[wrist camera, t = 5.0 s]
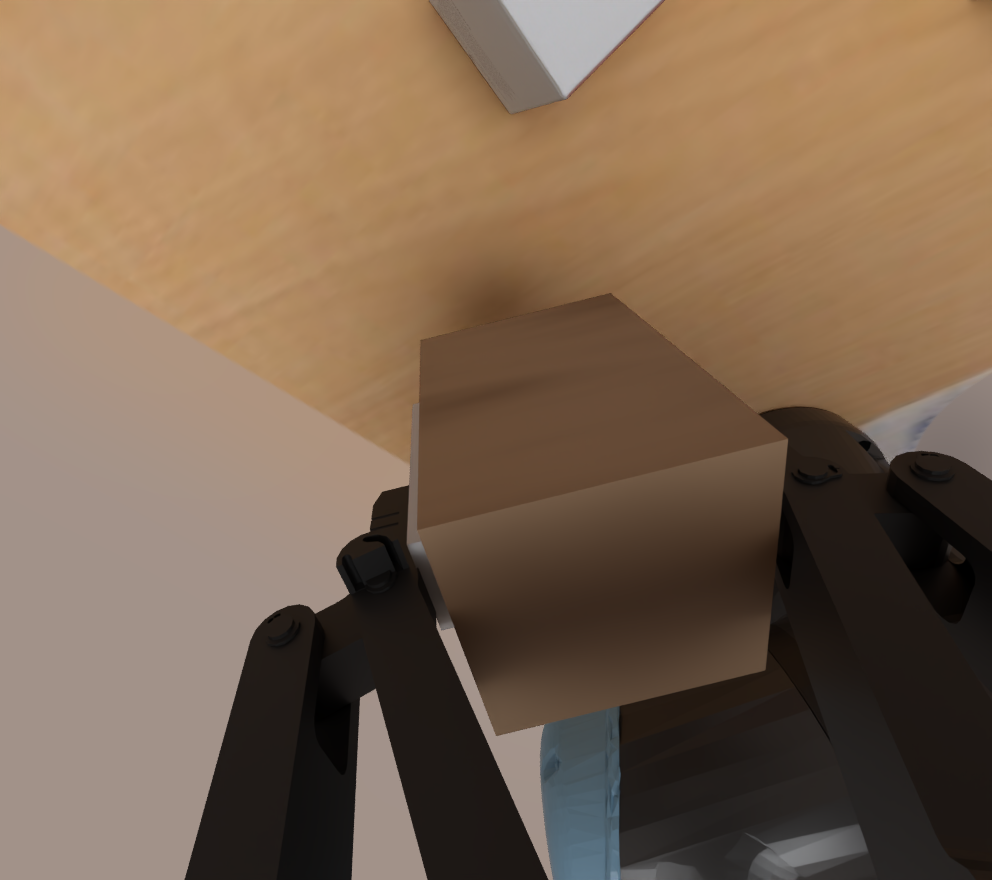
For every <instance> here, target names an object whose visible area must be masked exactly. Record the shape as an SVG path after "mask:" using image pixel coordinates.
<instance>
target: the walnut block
mask: <svg viewBox="0 0 992 880" xmlns="http://www.w3.org/2000/svg"><path fill="white" fill-rule="evenodd" d="M787 446H788V438H787V437H785V436H784V435H783V434H782V433H780V432H779V431H778V430H777V429H776V428H774V427H773V426H772V425H771V424H769V423H768V422H767V421H766V420H765V419H763V418H762V417H761V416H760V415H758V414H757V413H756V412H755V411H754V410H752V409H751V408H750V407H749V406H747V405H746V404H745V403H744V402H743V401H741V400H740V399H739V398H738V397H737V396H735V395H734V394H733V393H732V392H730V391H729V390H728V389H727V388H726V387H724V386H723V385H722V384H721V383H719V382H718V381H717V380H716V379H715V378H713V377H712V376H711V375H710V374H708V373H707V372H706V371H705V370H704V369H702V368H701V367H700V366H699V365H697V364H696V363H695V362H694V361H693V360H691V359H690V358H689V357H688V356H686V355H685V354H684V353H683V352H682V351H680V350H679V349H678V348H677V347H675V346H674V345H673V344H672V343H671V342H669V341H668V340H667V339H666V338H665V337H663V336H662V335H661V334H660V333H658V332H657V331H656V330H655V329H654V328H652V327H651V326H650V325H649V324H647V323H646V322H645V321H644V320H643V319H641V318H640V317H639V316H638V315H636V314H635V313H634V312H633V311H632V310H630V309H629V308H628V307H627V306H625V305H624V304H623V303H622V302H621V301H619V300H618V299H617V298H616V297H614V296H613V295H612V294H611V293H609V294H605V295H601V296H597V297H593V298H589V299H585V300H581V301H577V302H573V303H569V304H565V305H561V306H557V307H553V308H549V309H545V310H541V311H537V312H533V313H529V314H525V315H521V316H517V317H513V318H508V319H504V320H500V321H496V322H492V323H488V324H484V325H480V326H476V327H472V328H468V329H464V330H460V331H456V332H452V333H448V334H444V335H440V336H436V337H432V338H428V339H424V340H421V347H420V399H419V451H418V503H417V532H418V534H419V537H420V539H421V542H422V545H423V547H424V550H425V552H426V555H427V558H428V560H429V563H430V565H431V568H432V571H433V573H434V576H435V578H436V581H437V584H438V586H439V589H440V591H441V594H442V597H443V599H444V602H445V604H446V607H447V610H448V612H449V615H450V617H451V620H452V623H453V625H454V628H455V630H456V633H457V636H458V638H459V641H460V643H461V646H462V648H463V651H464V654H465V656H466V659H467V661H468V664H469V667H470V669H471V672H472V674H473V677H474V680H475V682H476V685H477V687H478V690H479V692H480V695H481V698H482V700H483V703H484V706H485V708H486V711H487V713H488V716H489V719H490V721H491V724H492V726H493V729H494V732H495V734H496V736H499V735H502V734H507V733H511V732H515V731H519V730H523V729H527V728H531V727H535V726H540V725H544V724H548V723H552V722H556V721H560V720H564V719H568V718H572V717H576V716H580V715H585V714H589V713H593V712H597V711H601V710H605V709H609V708H613V707H617V706H621V705H626V704H630V703H634V702H638V701H642V700H646V699H650V698H654V697H658V696H662V695H666V694H671V693H675V692H679V691H683V690H687V689H691V688H695V687H699V686H703V685H707V684H712V683H716V682H720V681H724V680H728V679H732V678H736V677H740V676H744V675H748V674H752V673H757V672H761V671H765V670H766V660H767V650H768V639H769V629H770V619H771V609H772V599H773V589H774V578H775V568H776V558H777V548H778V538H779V528H780V517H781V507H782V497H783V487H784V477H785V466H786V456H787Z"/></svg>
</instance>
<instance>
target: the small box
mask: <svg viewBox="0 0 992 880" xmlns="http://www.w3.org/2000/svg"><path fill="white" fill-rule="evenodd" d="M429 1H430V3H431V4H432V5H433V7H434V8H435V9H436V11H437V12H438V13H439V15H440V16H441V18H442V19H443V20H444V22H445V23H446V25H447V26H448V28H449V29H450V30H451V32H452V33H453V35H454V36H455V37H456V39H457V40H458V42H459V43H460V44H461V46H462V47H463V49H464V50H465V51H466V53H467V54H468V56H469V57H470V58H471V60H472V61H473V63H474V64H475V65H476V67H477V68H478V70H479V71H480V72H481V74H482V75H483V77H484V78H485V80H486V81H487V82H488V84H489V85H490V87H491V88H492V89H493V91H494V92H495V94H496V95H497V96H498V98H499V99H500V100H501V102H502V103H503V105H504V106H505V107H506V109H507V110H508V112H509V113H510V114H514V113H518V112H521V111H525V110H529V109H532V108H536V107H540V106H543V105H547V104H550V103H553V102H557V101H561V100H566V99H568V98H569V97H570V96H571V94H572V93H573V92H574V91H575V90H576V89H577V88H578V87H579V86H580V85H581V84H582V83H583V82H584V81H585V80H586V79H587V78H588V77H589V76H590V75H591V74H592V73H593V72H594V71H595V70H596V69H597V68H598V67H599V66H600V65H601V64H602V63H603V62H604V61H605V60H606V59H607V58H608V57H609V56H610V55H611V54H612V53H613V52H614V51H615V50H616V49H617V48H618V47H619V46H620V45H621V44H622V43H623V42H624V41H625V40H626V39H627V38H628V37H629V36H630V35H631V34H632V33H633V32H634V31H635V30H636V29H637V28H638V27H639V26H640V25H641V24H642V23H643V22H644V21H645V20H646V19H647V18H648V17H649V16H650V15H651V14H652V13H653V12H654V11H655V10H656V9H657V8H658V7H659V6H660V5H661V4H662V3H663V2H664V1H665V0H429Z"/></svg>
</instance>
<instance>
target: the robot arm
mask: <svg viewBox="0 0 992 880" xmlns="http://www.w3.org/2000/svg"><path fill="white" fill-rule="evenodd" d="M760 416H761V417H762V418H763V419H765V420H766V421H767V422H768V423H769V424H771V425H772V426H773V427H774V428H776V429H777V430H778V431H779V432H780V433H782V434H783V435H784V436H785V437H787V438H788V446H787V456H786V466H785V477H784V487H783V497H782V507H781V517H780V528H779V538H778V548H777V558H776V568H775V578H774V589H773V599H772V609H771V619H770V629H769V639H768V650H767V660H766V670H765V671H761V672H757V673H752V674H748V675H744V676H740V677H736V678H732V679H728V680H724V681H720V682H716V683H712V684H707V685H703V686H699V687H695V688H691V689H687V690H683V691H679V692H675V693H671V694H666V695H662V696H658V697H654V698H650V699H646V700H642V701H638V702H634V703H630V704H626V705H621V706H617V707H613V708H609V709H605V710H601V711H597V712H593V713H589V714H585V715H580V716H576V717H572V718H568V719H564V720H560V721H556V722H552V723H548V724H545V725H544V729H543V733H542V739H541V751H540V775H541V791H542V802H543V813H544V822H545V830H546V838H547V845H548V852H549V858H550V864H551V869H552V875H553V880H992V480H990V479H989V478H987V477H986V476H984V475H983V474H981V473H979V472H978V471H976V470H975V469H973V468H972V467H970V466H969V465H967V464H966V463H964V462H962V461H960V460H958V459H956V458H954V457H951V456H948V455H944V454H940V453H935V452H926V451H916V452H906V453H904V454H901V455H898V456H896V457H895V458H894V459H893V460H892V461H891V463H890V465H889V464H888V462H887V461H886V460H885V458H884V456H883V454H882V452H881V451H880V450H879V448H878V446H877V445H876V444H875V443H874V442H873V441H872V440H871V439H870V438H869V437H868V436H867V435H866V434H865V433H863V432H862V431H861V430H859V429H858V428H856V427H855V426H853V425H852V424H850V423H849V422H847V421H846V420H844V419H843V418H841V417H840V416H838V415H836V414H834V413H831V412H828V411H825V410H821V409H815V408H805V407H803V408H787V409H780V410H776V411H771V412H768V413H764V414H761V415H760ZM418 451H419V403H416V404H413V410H412V433H411V457H410V481H409V485H408V486H405V487H400V488H396V489H392V490H388V491H384V492H382V493H381V495H380V496H379V498H378V499H377V501H376V502H375V504H374V505H373V511H372V521H371V526H370V532H369V533H366V534H363V535H360V536H359V537H357V538H355V539H353V540H352V541H350V542H349V543H348V544H347V545H346V546H345V547H344V548H343V549H342V550H341V552H340V554H339V555H338V557H337V562H336V567H337V569H338V571H339V573H340V575H341V577H342V579H343V581H344V583H345V585H346V587H347V589H348V591H349V593H350V594H349V595H347V596H346V597H345V598H344V599H342V600H340V601H339V602H337V603H336V604H334V605H331V606H329V607H328V608H326V609H324V610H322V611H320V612H318V613H316V614H315V613H314V612H313V611H312V610H311V609H310V608H309V607H308V606H304V605H300V604H299V605H292V606H287V607H285V608H283V609H280V610H278V611H276V612H275V613H273V614H272V615H270V616H269V617H268V618H267V619H265V620H264V621H263V622H262V623H261V624H260V626H259V627H258V628H257V629H256V630H255V632H254V634H253V636H252V639H251V641H250V644H249V648H248V652H247V656H246V659H245V662H244V666H243V670H242V674H241V677H240V681H239V684H238V688H237V692H236V696H235V699H234V702H233V706H232V710H231V713H230V717H229V721H228V724H227V728H226V732H225V735H224V739H223V743H222V746H221V750H220V753H219V757H218V761H217V764H216V768H215V772H214V775H213V779H212V783H211V786H210V790H209V793H208V797H207V801H206V804H205V808H204V812H203V815H202V819H201V822H200V826H199V830H198V834H197V837H196V841H195V844H194V848H193V851H192V855H191V859H190V862H189V866H188V870H187V873H186V877H185V880H351V877H352V856H353V834H354V812H355V790H356V770H357V749H358V727H359V706H360V697H362V696H364V695H365V694H367V693H369V692H371V691H372V690H374V689H376V691H377V694H378V698H379V702H380V705H381V709H382V713H383V717H384V720H385V724H386V728H387V731H388V735H389V739H390V742H391V746H392V750H393V753H394V757H395V761H396V765H397V768H398V772H399V776H400V779H401V783H402V787H403V790H404V794H405V798H406V802H407V805H408V809H409V813H410V816H411V820H412V824H413V828H414V831H415V834H416V839H417V842H418V846H419V850H420V853H421V857H422V861H423V864H424V868H425V872H426V876H427V879H428V880H548V878H547V876H546V873H545V871H544V869H543V867H542V864H541V862H540V860H539V858H538V855H537V853H536V851H535V849H534V846H533V844H532V842H531V840H530V837H529V835H528V833H527V831H526V828H525V826H524V824H523V822H522V819H521V817H520V815H519V813H518V810H517V808H516V806H515V804H514V801H513V799H512V797H511V795H510V792H509V790H508V788H507V786H506V783H505V781H504V779H503V777H502V775H501V772H500V770H499V768H498V766H497V763H496V761H495V759H494V756H493V754H492V752H491V750H490V747H489V745H488V743H487V741H486V738H485V736H484V734H483V732H482V729H481V727H480V725H479V723H478V720H477V718H476V716H475V714H474V711H473V709H472V707H471V705H470V702H469V700H468V698H467V696H466V693H465V691H464V689H463V687H462V684H461V682H460V680H459V678H458V675H457V673H456V671H455V669H454V666H453V664H452V662H451V660H450V658H449V655H448V653H447V651H446V648H445V646H444V644H443V642H442V639H441V637H440V635H439V633H438V630H437V628H436V618H437V620H438V623H439V625H440V628H441V630H445V629H449V628H453V627H454V625H453V623H452V620H451V617H450V615H449V612H448V610H447V607H446V604H445V602H444V599H443V597H442V594H441V591H440V589H439V586H438V584H437V581H436V578H435V576H434V573H433V571H432V568H431V565H430V563H429V560H428V558H427V555H426V552H425V550H424V547H423V545H422V542H421V539H420V537H419V534H418V532H417V503H418Z"/></svg>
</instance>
